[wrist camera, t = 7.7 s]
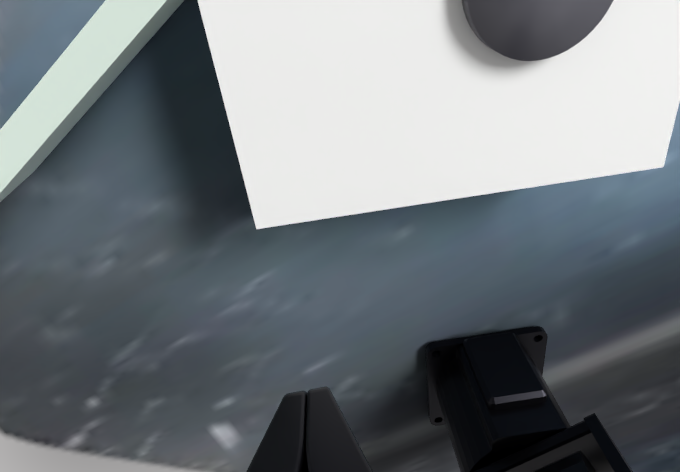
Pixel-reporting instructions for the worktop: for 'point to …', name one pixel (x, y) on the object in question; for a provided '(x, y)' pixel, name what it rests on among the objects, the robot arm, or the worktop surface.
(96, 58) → the side door
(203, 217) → the worktop surface
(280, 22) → the instrument case
